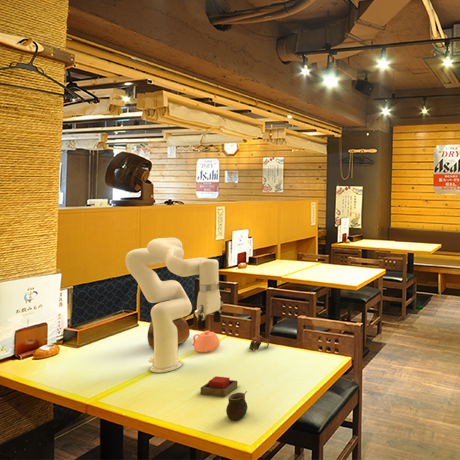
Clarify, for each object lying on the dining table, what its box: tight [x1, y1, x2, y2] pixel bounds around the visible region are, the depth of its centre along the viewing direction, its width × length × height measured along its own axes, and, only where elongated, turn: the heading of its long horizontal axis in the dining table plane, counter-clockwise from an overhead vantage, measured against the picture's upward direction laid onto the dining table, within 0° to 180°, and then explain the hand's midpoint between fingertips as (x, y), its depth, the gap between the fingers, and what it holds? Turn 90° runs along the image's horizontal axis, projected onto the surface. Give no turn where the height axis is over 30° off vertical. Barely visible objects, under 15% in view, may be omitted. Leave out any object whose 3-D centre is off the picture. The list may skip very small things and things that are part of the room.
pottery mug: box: [249, 334, 270, 352], centre depth 199 cm, size 12×10×8 cm
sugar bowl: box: [191, 330, 220, 353], centre depth 196 cm, size 12×14×10 cm
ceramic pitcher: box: [147, 300, 191, 348], centre depth 202 cm, size 20×20×30 cm
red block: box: [208, 375, 231, 389], centre depth 153 cm, size 6×4×4 cm
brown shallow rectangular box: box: [200, 379, 238, 398], centre depth 153 cm, size 11×8×3 cm
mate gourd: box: [225, 390, 248, 421], centre depth 134 cm, size 7×8×10 cm
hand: (209, 325), depth 162 cm, fingers open, 9 cm apart
